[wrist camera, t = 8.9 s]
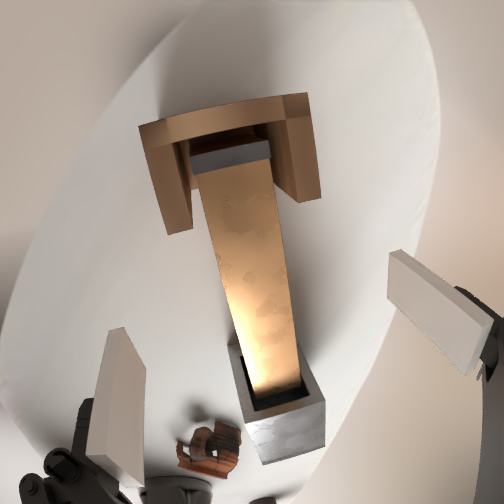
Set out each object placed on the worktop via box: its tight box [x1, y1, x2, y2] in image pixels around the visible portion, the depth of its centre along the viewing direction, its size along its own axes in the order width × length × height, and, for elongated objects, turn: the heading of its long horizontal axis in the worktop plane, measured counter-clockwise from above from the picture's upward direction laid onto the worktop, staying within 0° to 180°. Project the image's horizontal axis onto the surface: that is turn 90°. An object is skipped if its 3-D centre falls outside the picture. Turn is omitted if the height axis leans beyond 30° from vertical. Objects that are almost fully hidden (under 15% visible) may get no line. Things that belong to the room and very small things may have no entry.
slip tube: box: [189, 134, 301, 399], centre depth 22 cm, size 4×20×6 cm, turn 10°
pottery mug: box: [176, 422, 241, 479], centre depth 36 cm, size 12×10×8 cm
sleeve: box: [227, 341, 325, 465], centre depth 30 cm, size 7×10×10 cm
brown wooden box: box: [138, 92, 321, 235], centre depth 18 cm, size 8×6×10 cm
